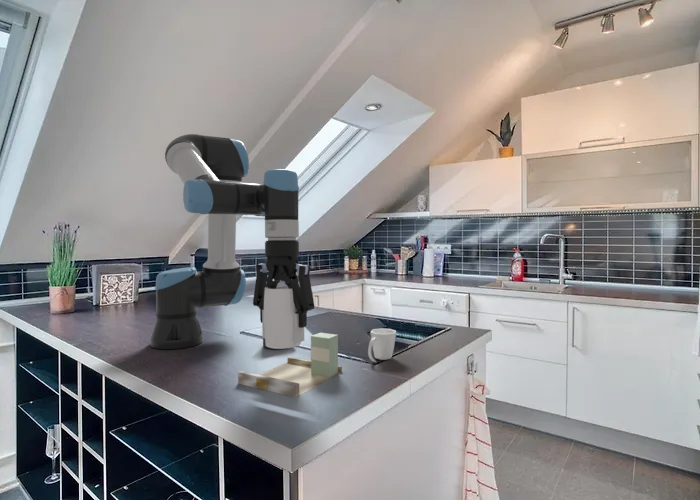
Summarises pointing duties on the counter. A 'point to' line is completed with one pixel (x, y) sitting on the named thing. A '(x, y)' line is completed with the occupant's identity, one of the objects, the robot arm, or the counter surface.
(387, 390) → the counter surface
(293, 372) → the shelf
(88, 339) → the counter surface
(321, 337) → the tea carton
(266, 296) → the cup
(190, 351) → the counter surface
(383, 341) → the cup
